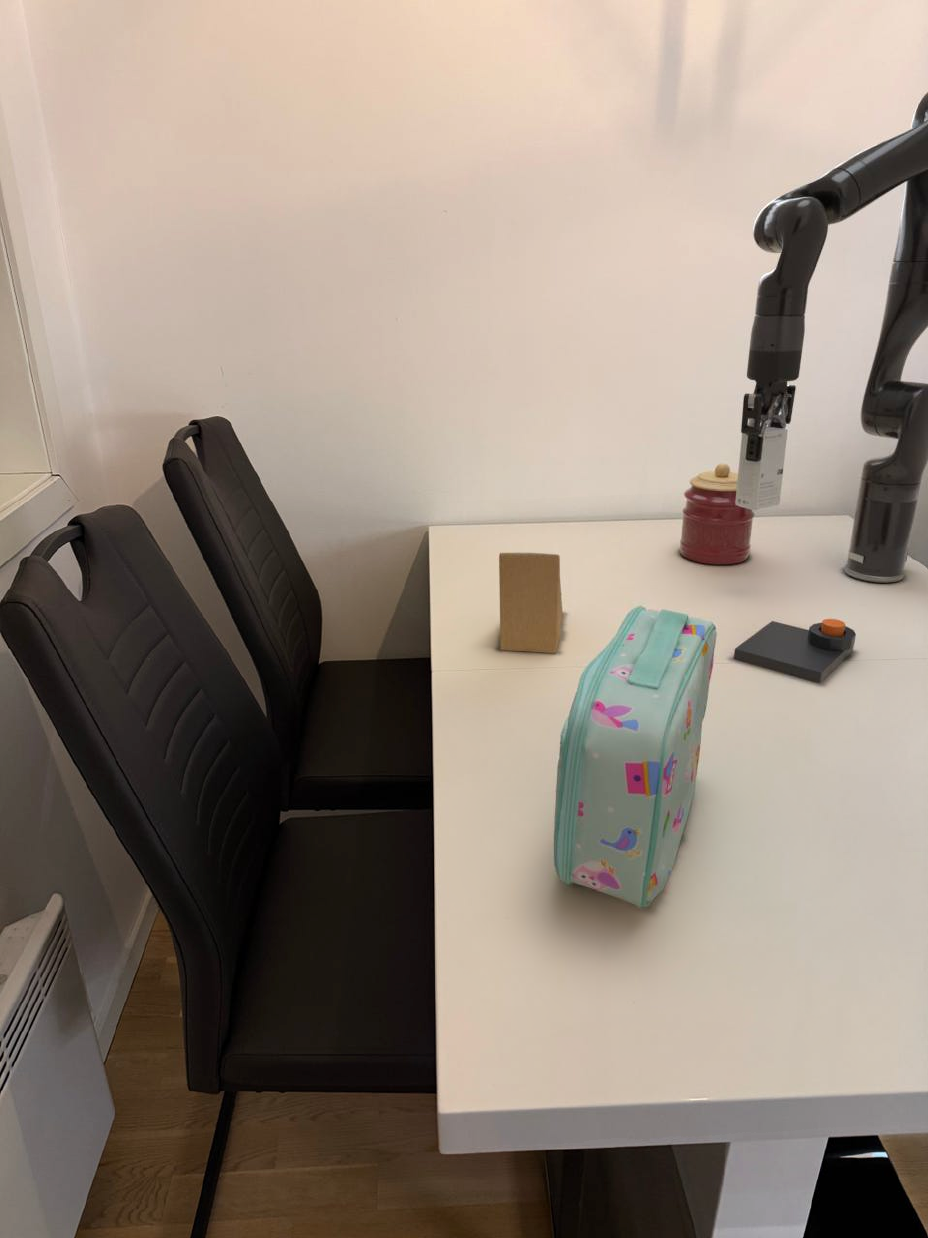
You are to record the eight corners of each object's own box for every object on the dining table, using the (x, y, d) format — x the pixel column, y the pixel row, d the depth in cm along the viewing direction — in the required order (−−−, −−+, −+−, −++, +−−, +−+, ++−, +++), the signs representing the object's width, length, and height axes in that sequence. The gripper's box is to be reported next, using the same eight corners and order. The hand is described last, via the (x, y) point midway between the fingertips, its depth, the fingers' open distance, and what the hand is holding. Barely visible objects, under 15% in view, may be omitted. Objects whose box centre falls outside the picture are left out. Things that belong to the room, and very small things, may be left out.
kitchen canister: (757, 550, 162) (768, 460, 156) (738, 570, 152) (749, 474, 146) (691, 541, 169) (699, 453, 162) (669, 559, 159) (676, 466, 152)
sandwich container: (564, 613, 135) (567, 523, 129) (557, 653, 121) (560, 554, 115) (511, 610, 136) (512, 521, 130) (498, 650, 122) (498, 552, 117)
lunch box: (612, 752, 96) (622, 576, 88) (704, 770, 92) (724, 588, 84) (540, 904, 73) (545, 686, 65) (659, 936, 69) (680, 709, 61)
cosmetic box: (755, 511, 132) (764, 433, 127) (732, 505, 135) (740, 429, 131) (781, 504, 135) (790, 428, 130) (758, 499, 138) (766, 424, 134)
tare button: (825, 627, 120) (826, 616, 120) (846, 632, 118) (848, 622, 118) (817, 633, 118) (819, 623, 117) (839, 638, 116) (841, 628, 116)
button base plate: (771, 630, 127) (774, 608, 126) (857, 651, 120) (861, 629, 118) (733, 659, 118) (736, 637, 117) (823, 685, 110) (827, 661, 109)
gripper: (781, 351, 118) (767, 468, 125) (819, 344, 128) (804, 452, 135) (731, 349, 123) (719, 461, 130) (771, 342, 133) (759, 446, 139)
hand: (762, 456), depth 132 cm, fingers closed on cosmetic box, 6 cm apart
